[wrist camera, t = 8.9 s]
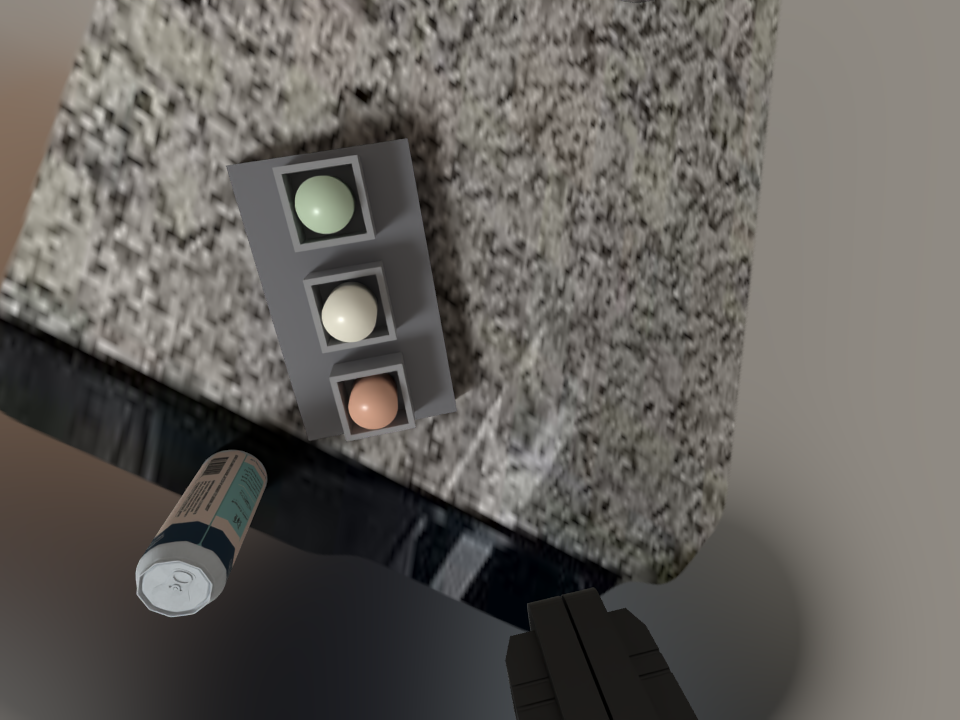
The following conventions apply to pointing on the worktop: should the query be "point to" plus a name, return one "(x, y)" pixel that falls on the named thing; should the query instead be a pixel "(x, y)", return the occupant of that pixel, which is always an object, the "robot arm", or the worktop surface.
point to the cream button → (350, 312)
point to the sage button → (325, 204)
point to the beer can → (201, 535)
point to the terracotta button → (373, 401)
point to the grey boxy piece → (348, 258)
